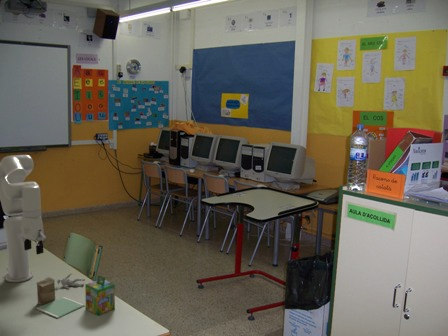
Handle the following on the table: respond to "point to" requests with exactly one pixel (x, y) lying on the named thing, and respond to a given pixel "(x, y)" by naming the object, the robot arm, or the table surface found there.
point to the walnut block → (46, 291)
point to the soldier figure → (70, 282)
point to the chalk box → (100, 296)
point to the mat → (60, 307)
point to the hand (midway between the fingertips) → (33, 251)
